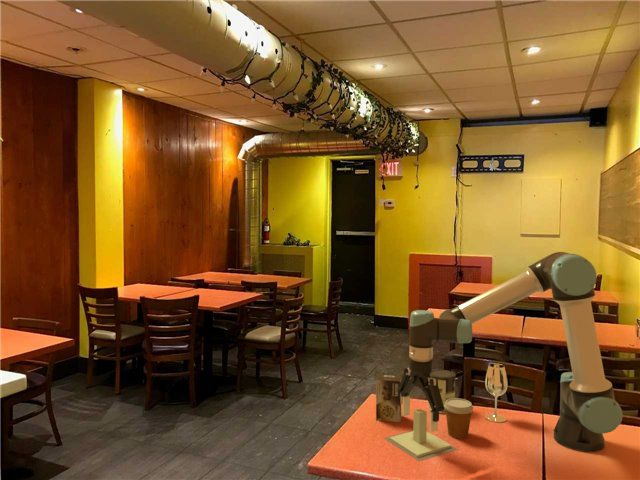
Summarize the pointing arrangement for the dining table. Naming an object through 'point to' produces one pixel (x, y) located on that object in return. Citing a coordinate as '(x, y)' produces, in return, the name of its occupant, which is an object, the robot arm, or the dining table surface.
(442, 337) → the robot arm
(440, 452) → the rubber mat
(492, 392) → the wineglass
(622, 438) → the dining table surface
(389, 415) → the coffee box
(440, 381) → the coffee can
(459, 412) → the disposable coffee cup
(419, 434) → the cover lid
